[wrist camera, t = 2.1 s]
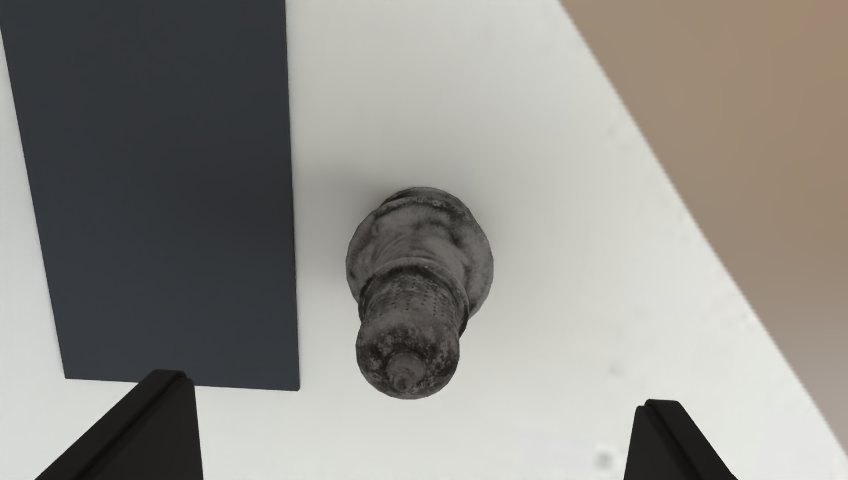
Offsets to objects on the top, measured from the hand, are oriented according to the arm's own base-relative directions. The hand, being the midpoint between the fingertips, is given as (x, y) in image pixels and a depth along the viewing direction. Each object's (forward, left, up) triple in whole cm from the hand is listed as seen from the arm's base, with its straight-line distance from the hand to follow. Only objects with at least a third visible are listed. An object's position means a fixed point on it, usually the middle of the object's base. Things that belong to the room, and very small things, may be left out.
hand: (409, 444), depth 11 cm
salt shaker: (0, 0, -14) cm, 14 cm away
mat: (-2, -12, -14) cm, 19 cm away
